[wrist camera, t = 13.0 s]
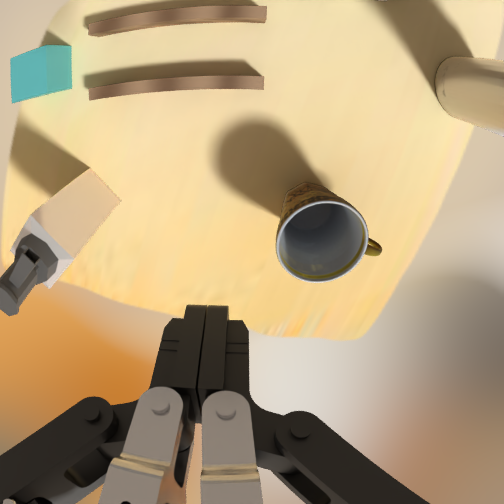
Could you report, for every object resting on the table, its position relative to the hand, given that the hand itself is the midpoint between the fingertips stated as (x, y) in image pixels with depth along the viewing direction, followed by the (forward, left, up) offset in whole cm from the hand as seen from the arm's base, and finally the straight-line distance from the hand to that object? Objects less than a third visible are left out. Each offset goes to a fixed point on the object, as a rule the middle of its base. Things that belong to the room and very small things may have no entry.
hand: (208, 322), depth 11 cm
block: (+24, -12, -29) cm, 40 cm away
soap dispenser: (+19, +6, -29) cm, 35 cm away
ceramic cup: (-11, +8, -29) cm, 32 cm away
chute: (+7, -12, -29) cm, 32 cm away
